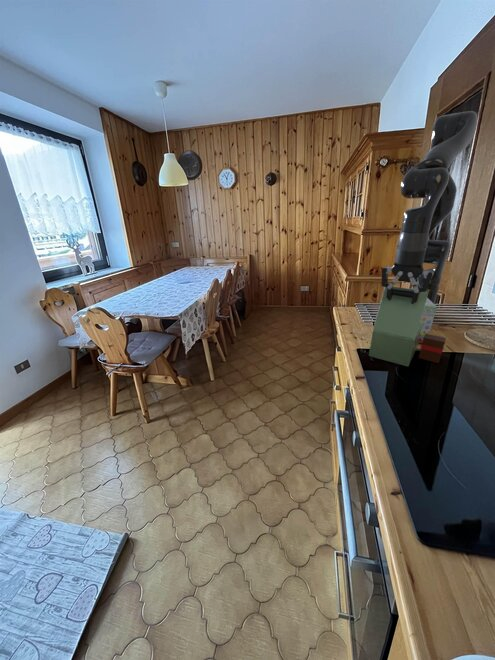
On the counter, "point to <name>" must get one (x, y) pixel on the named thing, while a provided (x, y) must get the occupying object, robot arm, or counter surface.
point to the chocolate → (432, 348)
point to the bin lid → (400, 313)
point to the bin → (394, 347)
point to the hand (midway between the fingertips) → (400, 301)
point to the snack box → (427, 318)
